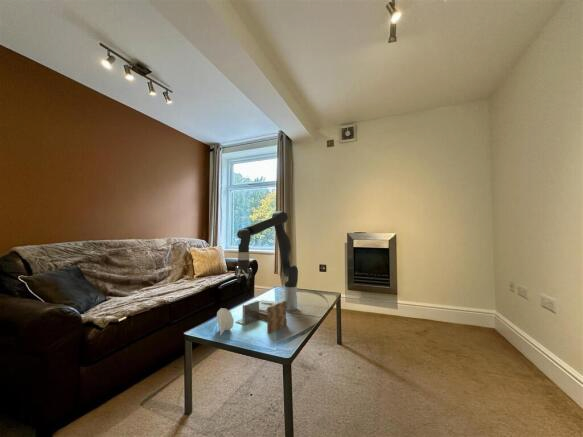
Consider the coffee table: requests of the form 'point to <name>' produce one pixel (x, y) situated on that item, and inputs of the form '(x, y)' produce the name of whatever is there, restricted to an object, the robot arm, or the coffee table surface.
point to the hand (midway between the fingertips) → (243, 283)
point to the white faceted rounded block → (224, 320)
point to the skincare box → (265, 305)
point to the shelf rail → (264, 317)
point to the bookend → (250, 312)
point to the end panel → (276, 316)
